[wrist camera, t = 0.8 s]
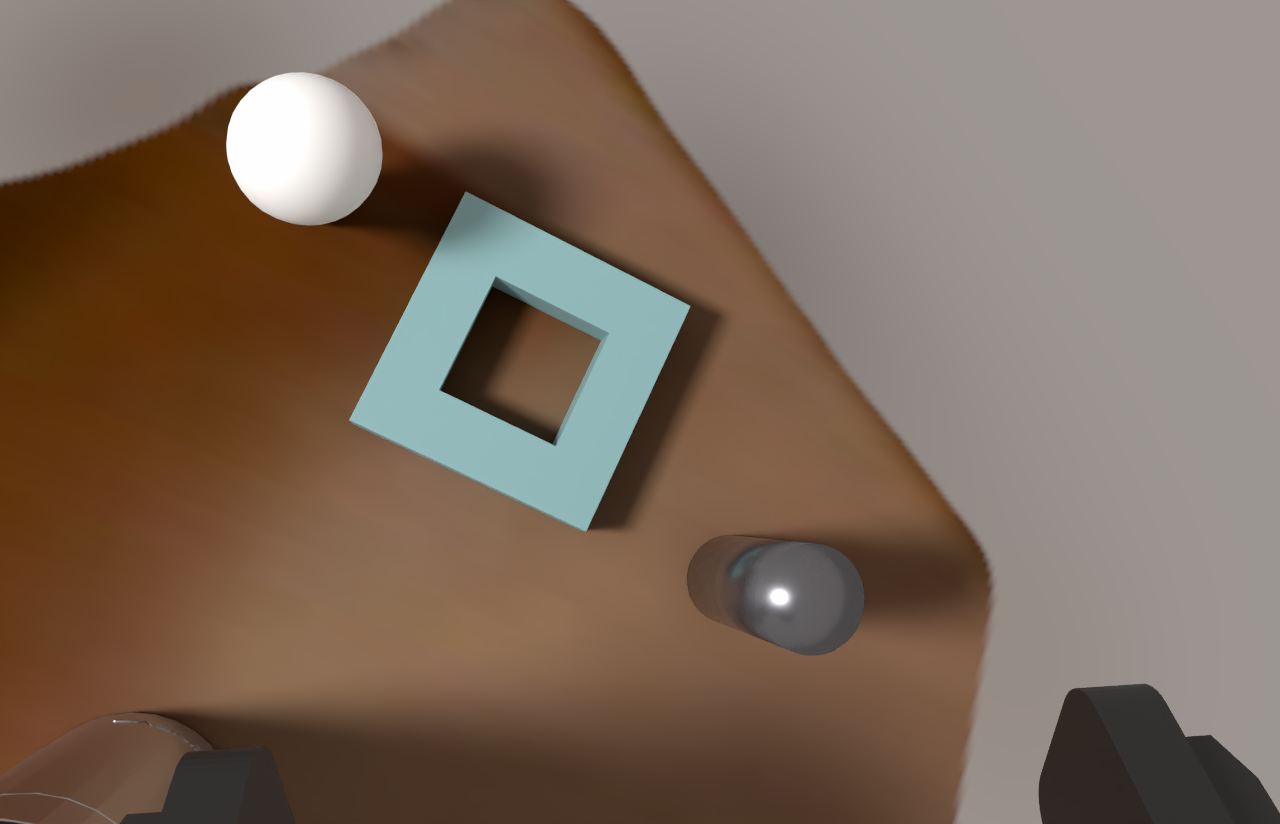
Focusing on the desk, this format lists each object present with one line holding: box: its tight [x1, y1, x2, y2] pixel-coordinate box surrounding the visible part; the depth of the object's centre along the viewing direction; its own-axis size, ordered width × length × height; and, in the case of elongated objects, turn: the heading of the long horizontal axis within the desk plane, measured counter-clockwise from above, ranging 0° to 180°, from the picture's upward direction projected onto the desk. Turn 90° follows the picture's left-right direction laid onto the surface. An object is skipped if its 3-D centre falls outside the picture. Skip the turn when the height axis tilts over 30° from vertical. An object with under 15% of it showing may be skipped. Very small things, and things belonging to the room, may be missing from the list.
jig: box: [350, 192, 690, 531], centre depth 53 cm, size 12×12×2 cm
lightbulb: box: [226, 72, 382, 225], centre depth 48 cm, size 6×6×11 cm
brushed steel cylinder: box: [687, 535, 865, 655], centre depth 50 cm, size 4×4×12 cm
